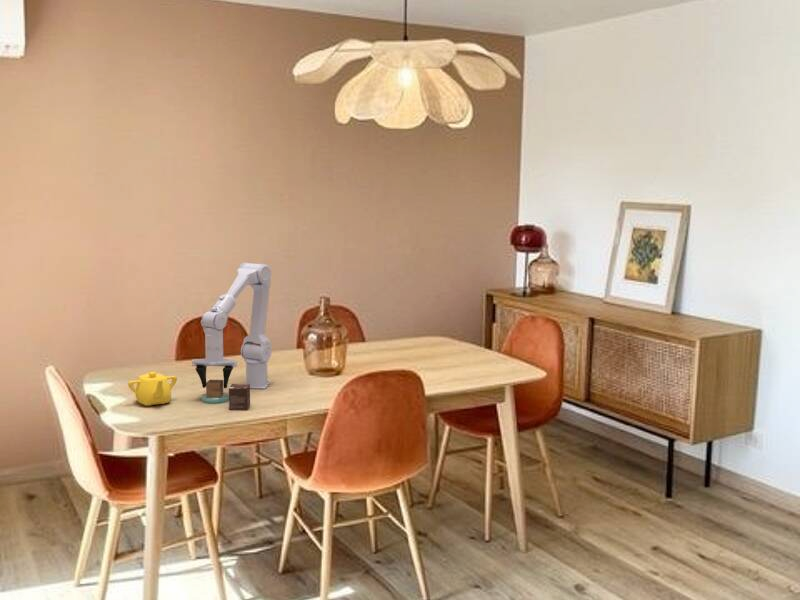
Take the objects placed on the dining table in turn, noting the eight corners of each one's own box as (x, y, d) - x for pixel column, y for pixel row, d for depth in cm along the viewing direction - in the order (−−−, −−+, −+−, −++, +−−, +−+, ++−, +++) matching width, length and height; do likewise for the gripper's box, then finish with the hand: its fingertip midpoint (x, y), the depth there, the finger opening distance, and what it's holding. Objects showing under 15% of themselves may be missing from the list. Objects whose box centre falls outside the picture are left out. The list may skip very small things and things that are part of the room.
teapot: (183, 399, 274) (182, 369, 273) (162, 410, 262) (161, 378, 260) (147, 396, 278) (146, 366, 276) (125, 406, 266) (123, 375, 264)
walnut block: (210, 393, 276) (209, 379, 275) (223, 394, 276) (223, 379, 275) (206, 397, 271) (206, 383, 270) (219, 398, 271) (219, 383, 270)
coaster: (205, 397, 279) (205, 391, 278) (231, 398, 278) (231, 392, 278) (198, 404, 270) (198, 399, 269) (225, 405, 270) (225, 399, 269)
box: (250, 405, 269) (250, 383, 268) (247, 410, 263) (247, 388, 262) (231, 405, 269) (231, 383, 268) (228, 410, 263) (228, 388, 262)
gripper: (189, 349, 267) (190, 389, 270) (233, 350, 267) (233, 391, 269) (195, 345, 274) (195, 384, 277) (238, 346, 274) (238, 385, 276)
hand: (215, 387), depth 273 cm, fingers open, 6 cm apart
